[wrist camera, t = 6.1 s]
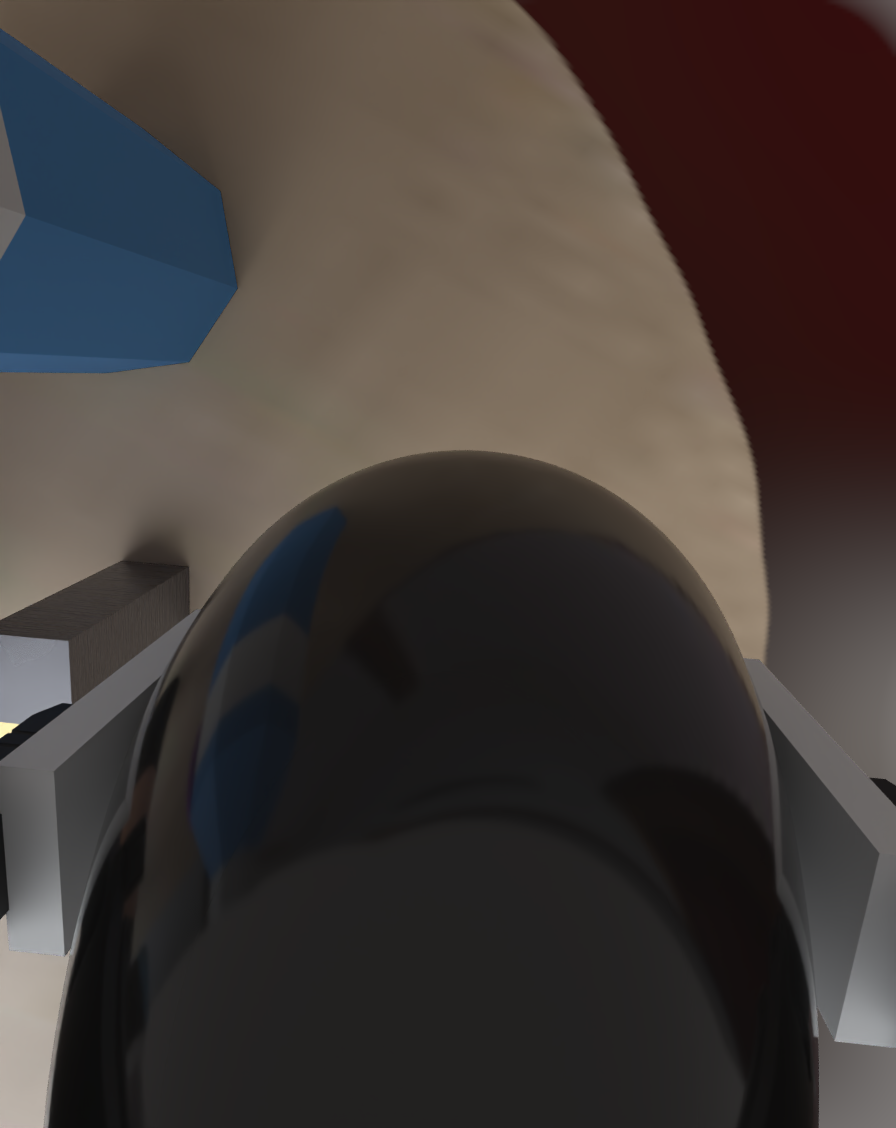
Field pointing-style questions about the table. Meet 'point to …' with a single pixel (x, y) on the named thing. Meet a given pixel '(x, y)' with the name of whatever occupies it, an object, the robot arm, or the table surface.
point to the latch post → (85, 635)
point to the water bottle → (98, 233)
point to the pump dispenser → (447, 836)
